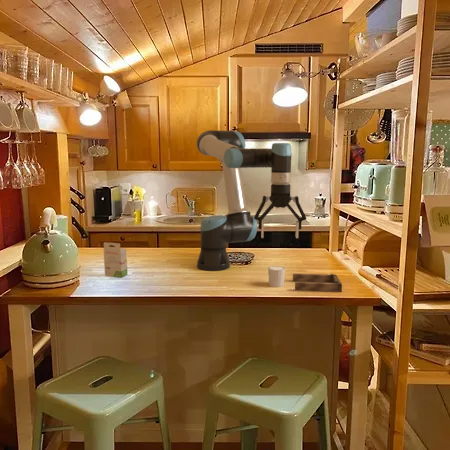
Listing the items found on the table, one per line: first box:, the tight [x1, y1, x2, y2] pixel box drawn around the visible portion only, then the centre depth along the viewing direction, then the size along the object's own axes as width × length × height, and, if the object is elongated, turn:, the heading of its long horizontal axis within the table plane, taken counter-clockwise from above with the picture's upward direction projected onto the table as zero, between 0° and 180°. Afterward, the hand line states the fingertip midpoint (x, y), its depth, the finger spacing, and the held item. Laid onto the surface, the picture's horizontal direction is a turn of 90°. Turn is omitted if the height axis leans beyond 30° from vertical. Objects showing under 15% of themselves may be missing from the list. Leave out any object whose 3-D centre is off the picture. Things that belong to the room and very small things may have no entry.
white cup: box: [267, 265, 286, 288], centre depth 169 cm, size 7×7×7 cm
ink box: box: [103, 242, 128, 278], centre depth 181 cm, size 9×5×15 cm, turn 71°
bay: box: [292, 273, 343, 293], centre depth 168 cm, size 18×13×4 cm
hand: (279, 237), depth 168 cm, fingers open, 13 cm apart
